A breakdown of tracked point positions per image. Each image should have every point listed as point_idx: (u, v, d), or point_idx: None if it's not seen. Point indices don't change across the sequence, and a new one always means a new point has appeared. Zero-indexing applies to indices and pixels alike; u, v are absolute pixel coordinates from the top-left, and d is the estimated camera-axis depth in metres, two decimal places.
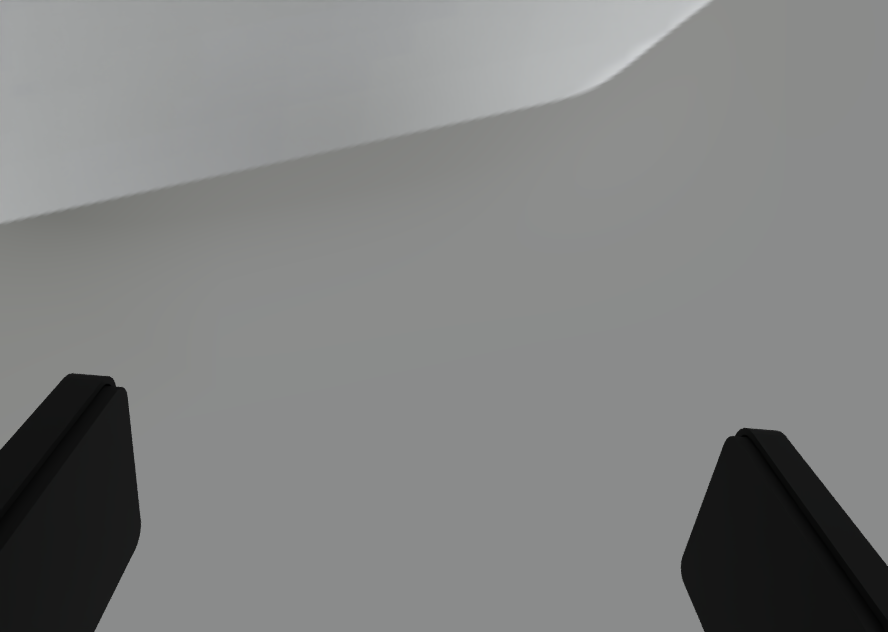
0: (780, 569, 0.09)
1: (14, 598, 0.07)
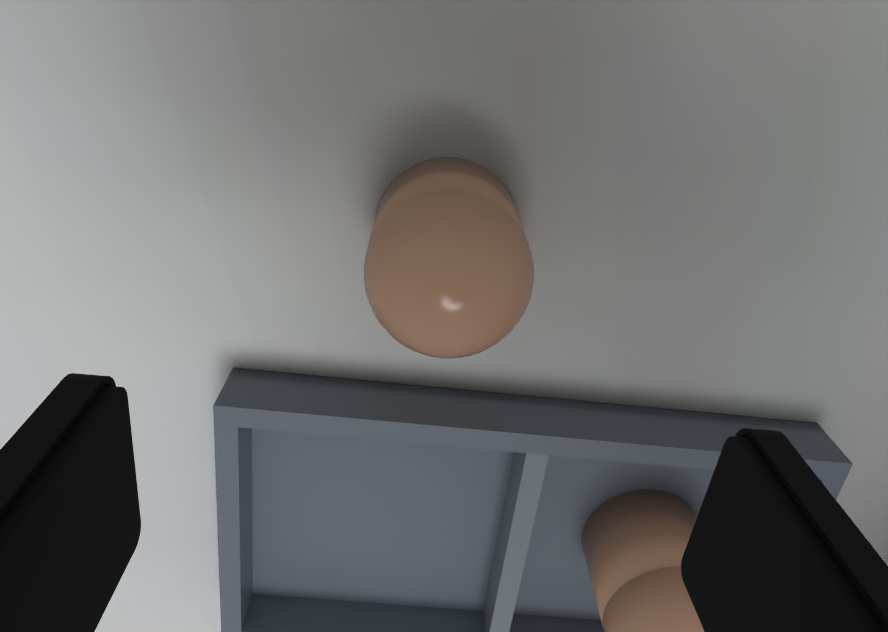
0: (780, 569, 0.09)
1: (14, 598, 0.07)
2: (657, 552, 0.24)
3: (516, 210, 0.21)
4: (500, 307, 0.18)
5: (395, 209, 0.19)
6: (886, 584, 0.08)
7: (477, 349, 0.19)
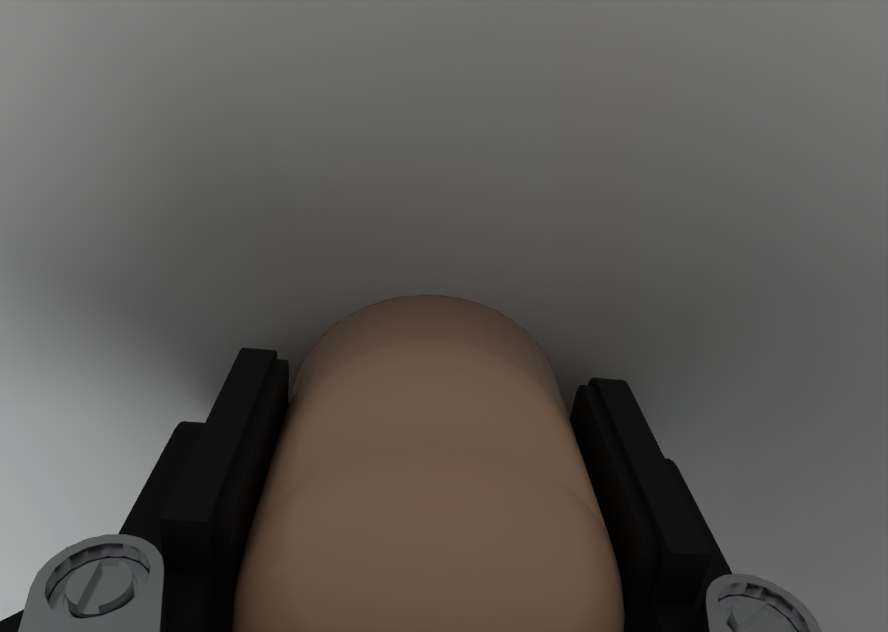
0: (600, 499, 0.10)
1: (243, 534, 0.08)
2: None
3: (565, 408, 0.11)
4: None
5: (300, 486, 0.08)
6: (671, 502, 0.08)
7: None
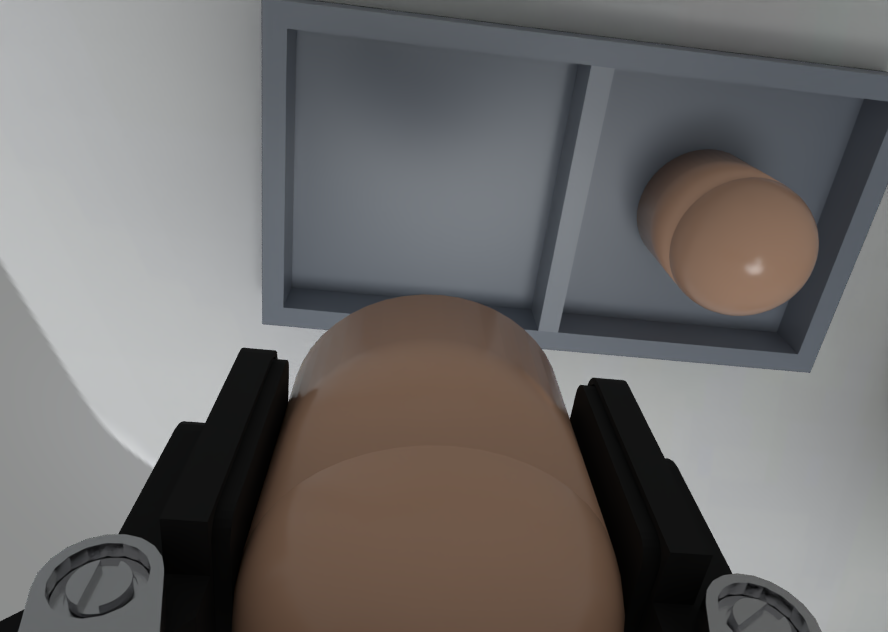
0: (600, 498, 0.10)
1: (243, 534, 0.08)
2: (727, 173, 0.23)
3: (565, 408, 0.11)
4: None
5: (299, 485, 0.08)
6: (671, 502, 0.08)
7: None
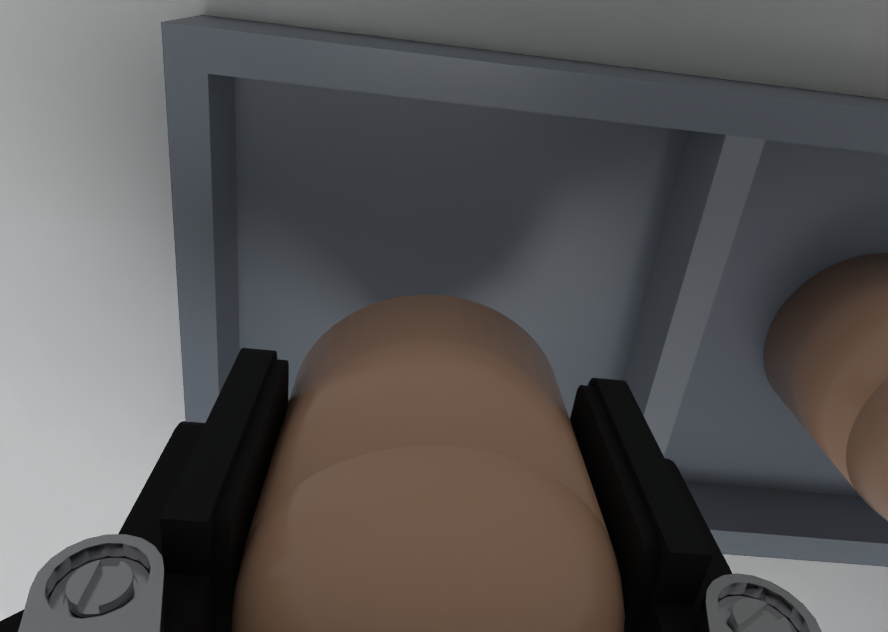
0: (600, 498, 0.10)
1: (242, 534, 0.08)
2: None
3: (565, 408, 0.11)
4: None
5: (299, 485, 0.08)
6: (671, 502, 0.08)
7: None
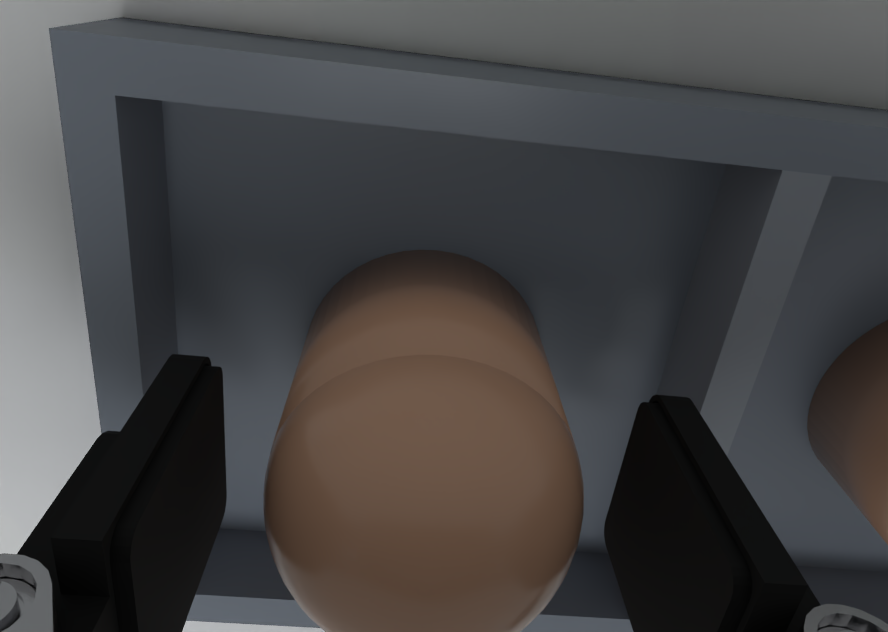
0: (674, 521, 0.09)
1: (152, 551, 0.08)
2: None
3: (541, 345, 0.12)
4: (527, 601, 0.09)
5: (319, 388, 0.10)
6: (757, 528, 0.08)
7: None
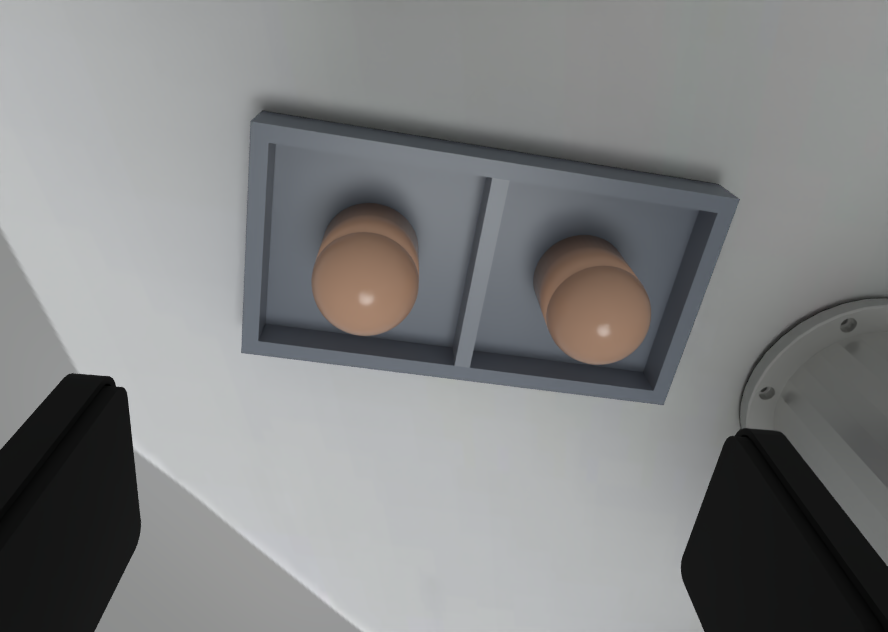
0: (780, 569, 0.09)
1: (14, 598, 0.07)
2: (589, 260, 0.31)
3: (414, 240, 0.33)
4: (393, 305, 0.29)
5: (331, 242, 0.30)
6: (886, 584, 0.08)
7: (381, 330, 0.30)
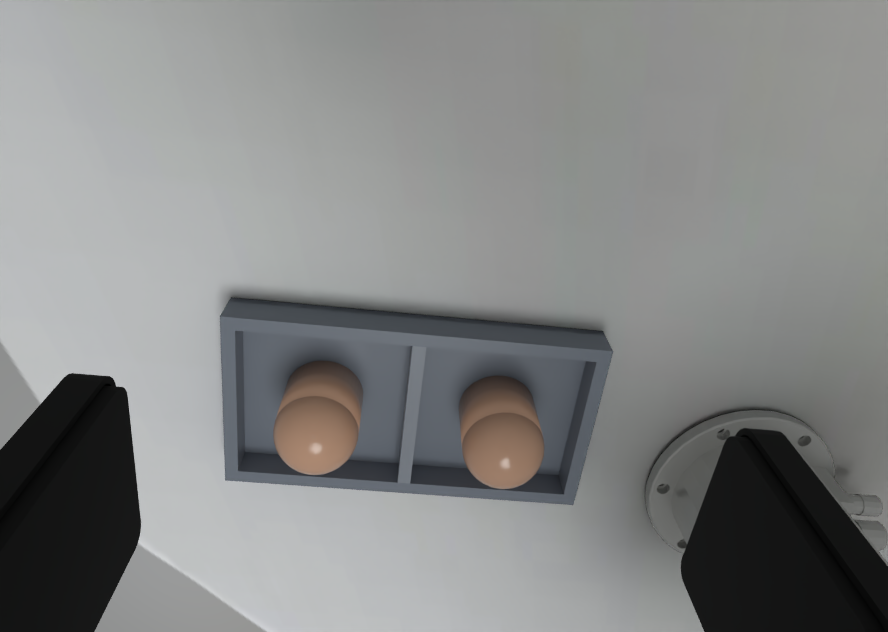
0: (780, 569, 0.09)
1: (14, 598, 0.07)
2: (493, 406, 0.40)
3: (356, 389, 0.41)
4: (336, 454, 0.37)
5: (286, 405, 0.38)
6: (886, 584, 0.08)
7: (329, 471, 0.38)
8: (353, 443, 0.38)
